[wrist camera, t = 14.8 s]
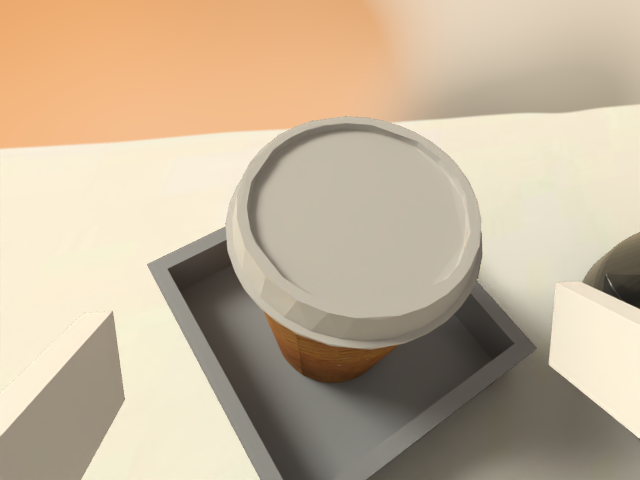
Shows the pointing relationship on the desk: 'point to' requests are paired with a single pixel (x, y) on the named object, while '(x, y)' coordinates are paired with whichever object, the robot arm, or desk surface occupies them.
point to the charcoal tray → (319, 397)
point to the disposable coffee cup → (353, 241)
